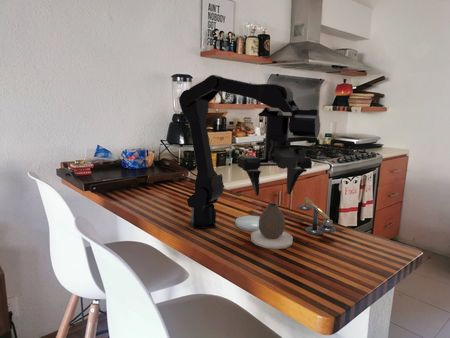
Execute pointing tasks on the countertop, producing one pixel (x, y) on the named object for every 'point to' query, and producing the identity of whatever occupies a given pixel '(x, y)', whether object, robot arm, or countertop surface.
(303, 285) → the countertop surface
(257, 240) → the dish low
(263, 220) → the vase
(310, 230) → the balance
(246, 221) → the white round plate
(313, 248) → the countertop surface
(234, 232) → the countertop surface
